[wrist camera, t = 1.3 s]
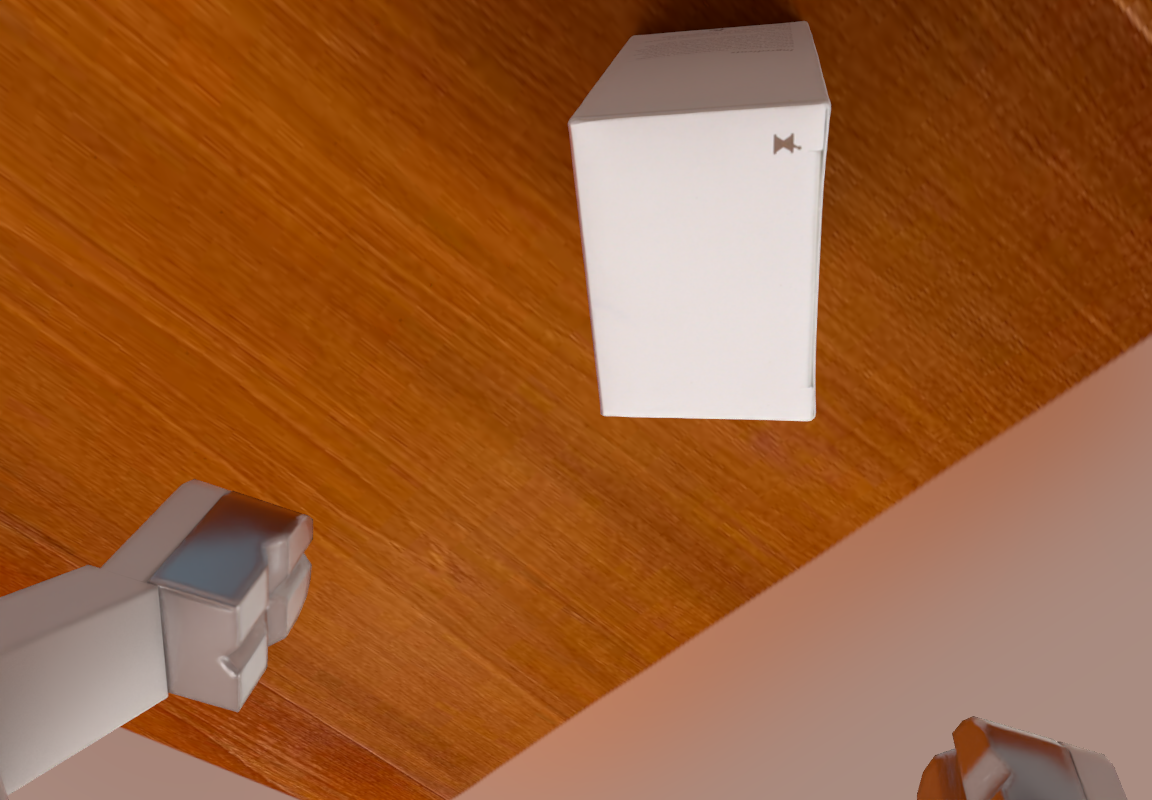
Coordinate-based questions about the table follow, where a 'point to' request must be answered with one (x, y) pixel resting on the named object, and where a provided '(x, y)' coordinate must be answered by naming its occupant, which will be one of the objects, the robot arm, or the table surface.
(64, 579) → the robot arm
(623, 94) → the small box
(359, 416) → the table surface
